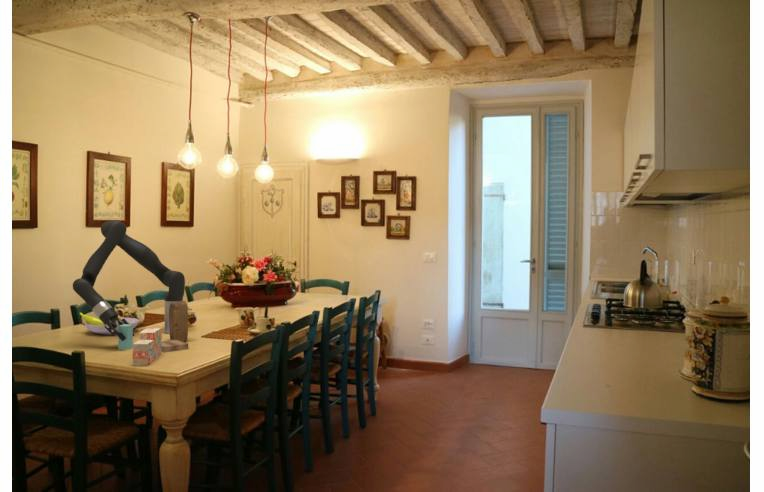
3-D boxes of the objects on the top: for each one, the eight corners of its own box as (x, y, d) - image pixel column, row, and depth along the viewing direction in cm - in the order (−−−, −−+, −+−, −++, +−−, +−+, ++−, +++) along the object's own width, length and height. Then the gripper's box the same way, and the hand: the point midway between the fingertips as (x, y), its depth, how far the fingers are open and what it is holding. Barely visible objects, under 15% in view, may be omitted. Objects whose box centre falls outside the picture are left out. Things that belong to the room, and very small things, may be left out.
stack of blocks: (147, 366, 237) (148, 336, 237) (132, 366, 237) (132, 336, 236) (161, 354, 258) (161, 327, 258) (147, 354, 258) (147, 327, 257)
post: (123, 347, 270) (123, 324, 270) (132, 347, 270) (132, 324, 269) (118, 349, 266) (118, 325, 265) (127, 349, 265) (127, 326, 265)
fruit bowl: (146, 328, 319) (146, 308, 318) (125, 337, 292) (125, 315, 291) (95, 327, 318) (95, 307, 317) (70, 337, 291) (70, 315, 290)
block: (188, 342, 285) (189, 302, 284) (173, 343, 280) (174, 303, 279) (181, 338, 293) (182, 299, 292) (167, 339, 289) (167, 300, 288)
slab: (177, 345, 278) (177, 339, 278) (188, 349, 269) (188, 343, 269) (152, 349, 270) (152, 342, 270) (163, 353, 261) (163, 347, 261)
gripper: (101, 309, 261) (125, 335, 260) (119, 305, 275) (142, 330, 274) (90, 320, 261) (114, 346, 261) (108, 315, 276) (131, 340, 275)
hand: (128, 338), depth 267 cm, fingers open, 7 cm apart
